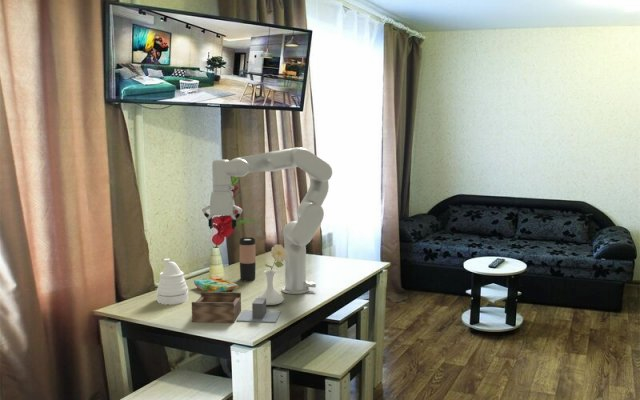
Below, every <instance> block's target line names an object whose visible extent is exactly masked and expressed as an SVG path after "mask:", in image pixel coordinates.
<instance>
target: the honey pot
mask: <svg viewBox="0 0 640 400" xmlns="http://www.w3.org/2000/svg"><path fill="white" fill-rule="evenodd" d="M163 262H164V263H165V267H164V269H163V271H162V272H161V271H160V273H159V275H158V276H159V277H160V279H159V282H158V285H157V288H156V301H157V303H158V304H160V303H161V304H160V305H167V304H169V305H179V304H182V303H185V302H188V300H189V287H188V285H187V282H186V278H185V277H184V275H185V274H184V271H183V270H181V269H180V267H179V266H178V264H177V263H176V262H174V261H171V258H164V259H163Z"/></svg>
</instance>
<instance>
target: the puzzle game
mask: <svg viewBox="0 0 640 400" xmlns="http://www.w3.org/2000/svg"><path fill="white" fill-rule="evenodd" d="M193 284H194V285H195V287H197V288H198V289H199V290H202V292H233V291H234V290H235V289H236V290H237V289H239V288H240V287H239V284H236V283H235V282H231V281H229V280H228V279H225V278H223V277H221V276H218V275H217V276H211V277H202V278H199V279H198V278H197V279H195V280H193Z"/></svg>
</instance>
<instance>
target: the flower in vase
mask: <svg viewBox="0 0 640 400" xmlns="http://www.w3.org/2000/svg"><path fill="white" fill-rule="evenodd" d="M286 253H287V252H286V250H285V247H284V246H283V245H282V244H280V243H279V244H277V243H276V244H275V245H274V246H272V247H271V257H272V258H273V260H274V262H273V264H272V265H269V264H267V263H264V265H265V267H267V268H270V269H266V270H263V273H264V274H265V276H266V282H267V284H266V289H265V290H264V291H262V292H261V293H260V294H259V295H258V296H257V297H256V298H266V306H276V305H279V304H281V303H283V302H284V300H285V298H284V296H283V295H282V294H281V293H280V292H278V291H277V290H276V289H275V288H274V283H273V281H274V276H275V274H276V272H277V270H275V269H274V266H275V267H277V268H281V267H283V266H284V264H283V262H284V261H285V259H287V257H286V256H287V254H286Z"/></svg>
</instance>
